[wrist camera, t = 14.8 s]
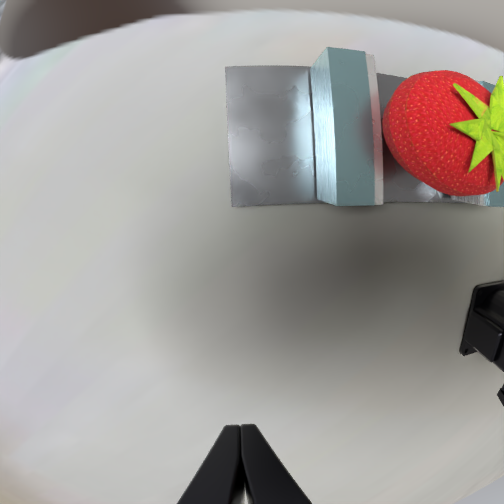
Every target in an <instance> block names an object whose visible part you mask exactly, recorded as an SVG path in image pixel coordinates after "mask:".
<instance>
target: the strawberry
mask: <svg viewBox="0 0 504 504" xmlns="http://www.w3.org/2000/svg"><path fill="white" fill-rule="evenodd" d="M382 123H383V133H384V137H385V141H386V143H387V146H388V148H389V150H390V152H391V154H392V155H393V156H394V158H395V159H396V161H397V162H398V163H399V164H400V165H401V166H402V167H403V168H404V170H406V171H407V172H408V173H410V174H411V175H412V176H413V177H415V178H417V179H418V180H420V181H422V182H423V183H425V184H427V185H428V186H430V187H432V188H434V189H436V190H437V191H439V192H442V193H445V194H448V195H452V196H460V197H462V196H472V195H482V194H486V193H489V192H492V191H493V190H495V189H496V192H498V191H499V186H500V185H501V184H502V183H503V182H504V83H503V76H500V77H499V79H498V81H497V84H496V86H495V88H494V90H493V92H492V94H491V93H490V92H489V91H488V90H487V89H486V88H484V87H483V86H482V85H481V84H479V83H478V82H476V81H475V80H473V79H471V78H470V77H468V76H466V75H463V74H461V73H458V72H453V71H448V70H443V71H430V72H423V73H419V74H416V75H413V76H410V77H409V78H407V79H406V80H404V81H403V82H402V83H401V84H400V85H399V86H398V88H397V89H396V90H395V92H394V93H393V95H392V97H391V98H390V100H389V102H388V103H387V106H386V108H385V110H384V114H383V120H382Z"/></svg>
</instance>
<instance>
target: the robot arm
mask: <svg viewBox="0 0 504 504" xmlns="http://www.w3.org/2000/svg"><path fill="white" fill-rule="evenodd" d="M475 352H479V353H480V354H481V355H483V356H484V357H485V358H486V359H487V360H488V361H489V362H493V363H494V364H495V365H496V366H497V367H498V368H500V369H501V370H502V371H503V372H504V281H500V282H495V283H490V284H484V285H479V286H477V287H476V288H475V289H474V292H473V297H472V302H471V307H470V312H469V316H468V321H467V325H466V329H465V333H464V337H463V341H462V344H461V348H460V353H461V354H462V355H463V356H465V355H468V354H472V353H475ZM497 396H498V397H499V399H500V401H501V403H502V404H503V406H504V384H503V386H502V388H500V390H499V391H498V393H497ZM245 490H246V496H247V500H248V504H312V503H311V501H310V500H309V499H308V497H307V496H306V495H305V493H304V492H303V491H302V490H301V488H300V487H299V486H298V484H297V483H296V482H295V480H294V479H293V477H292V476H291V475H290V473H289V472H288V471H287V469H286V468H285V466H284V465H283V464H282V462H281V461H280V459H279V458H278V457H277V455H276V454H275V452H274V451H273V450H272V448H271V447H270V445H269V444H268V442H267V441H266V439H265V438H264V436H263V435H262V433H261V432H260V430H259V429H258V427H257V426H256V425H255V424H242V425H241V426H239V425H226V426H225V427H224V428H223V430H222V431H221V433H220V435H219V436H218V438H217V440H216V441H215V443H214V445H213V447H212V448H211V450H210V452H209V453H208V455H207V457H206V458H205V460H204V461H203V463H202V465H201V466H200V468H199V470H198V471H197V473H196V474H195V476H194V478H193V479H192V481H191V482H190V484H189V486H188V487H187V489H186V490H185V492H184V493H183V495H182V497H181V498H180V500H179V501H178V503H177V504H244V501H245Z"/></svg>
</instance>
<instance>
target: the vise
mask: <svg viewBox="0 0 504 504" xmlns="http://www.w3.org/2000/svg"><path fill="white" fill-rule="evenodd" d="M310 68H311V67H307V66H233V67H225V73H226V98H227V121H228V143H229V163H230V182H231V201H232V207H234V206H252V205H273V204H298V203H327V202H324V201H321V200H318V199H317V178H316V151H315V131H314V114H313V99H312V86H311V74H310ZM376 76H377V85H378V94H379V105H380V117H381V133H382V154H383V202H456V203H471V204H475V205H480V206H491V207H504V182H503V183H502V184H501V185H500V186H499V191H498V192H496V189H495V190H493V191H492V192H489V193H486V194H482V195H472V196H462V197H460V196H452V195H448V194H445V193H442V192H439V191H437V190H436V189H434V188H432V187H430V186H428V185H427V184H425V183H423V182H422V181H420V180H418V179H417V178H415V177H413V176H412V175H411V174H410V173H408V172H407V171H406V170H404V168H403V167H402V166H401V165H400V164H399V163H398V162H397V161H396V159H395V158H394V156H393V155H392V154H391V152H390V150H389V148H388V146H387V143H386V141H385V137H384V133H383V123H382V120H383V114H384V110H385V108H386V106H387V103H388V102H389V100H390V98H391V97H392V95H393V93H394V92H395V90H396V89H397V88H398V86H399V85H400V84H401V83H402V82H403V81H404V80H406V79H407V78H403V77H397V76H391V75H385V74H379V73H376ZM475 81H476V80H475ZM476 82H478V83H479V84H481V85H482V86H483V87H484V88H486V89H487V90H488V91H489V92H490V93H491V94H492V92H493V90H494V88H495V85H493V84H490V83H487V82H484V81H480V82H479V81H476Z"/></svg>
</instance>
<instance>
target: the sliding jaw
mask: <svg viewBox="0 0 504 504" xmlns="http://www.w3.org/2000/svg"><path fill="white" fill-rule="evenodd" d="M310 74H311V86H312V99H313V114H314V131H315V151H316V178H317V199H318V200H321V201H324V202H327V203H330V204H332V205H335V206H363V205H382V204H383V154H382V133H381V117H380V105H379V94H378V85H377V76H376V68H375V60H374V55H369V54H365V52H364V51H357V50H349V49H341V48H331V47H327V48H326V49H325V50H324V52H323V53H322V54H321V56H320V57H319V58H318V59H317V61H316V62H315V63H314V64H313V66H312V67H311V68H310Z"/></svg>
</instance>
